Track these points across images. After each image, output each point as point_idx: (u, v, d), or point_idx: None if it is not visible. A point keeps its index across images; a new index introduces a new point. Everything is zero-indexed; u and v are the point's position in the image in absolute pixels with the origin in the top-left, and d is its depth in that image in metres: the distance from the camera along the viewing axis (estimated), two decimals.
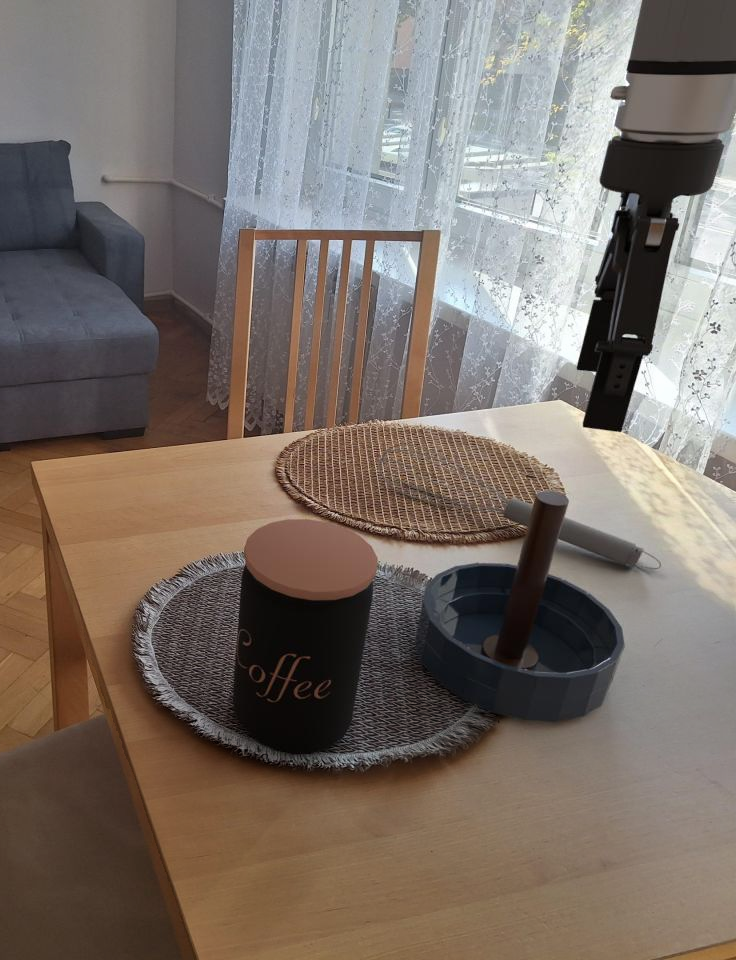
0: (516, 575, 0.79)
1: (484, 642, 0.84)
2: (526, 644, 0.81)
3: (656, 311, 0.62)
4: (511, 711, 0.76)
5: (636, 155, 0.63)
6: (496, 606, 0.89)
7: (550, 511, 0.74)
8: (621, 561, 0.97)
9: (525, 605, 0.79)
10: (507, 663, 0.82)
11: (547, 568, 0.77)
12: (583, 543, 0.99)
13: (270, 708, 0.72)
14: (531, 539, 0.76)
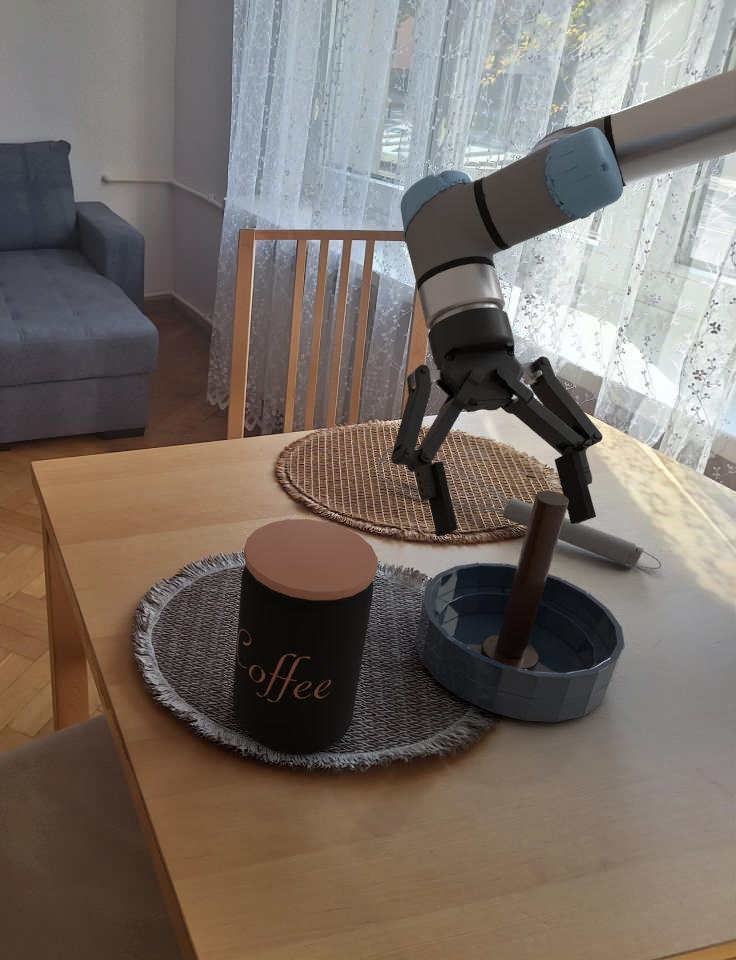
0: (516, 575, 0.79)
1: (484, 642, 0.84)
2: (526, 644, 0.81)
3: (407, 425, 0.81)
4: (511, 711, 0.76)
5: (429, 341, 0.87)
6: (496, 606, 0.89)
7: (550, 511, 0.74)
8: (621, 561, 0.97)
9: (525, 605, 0.79)
10: (507, 663, 0.82)
11: (547, 568, 0.77)
12: (583, 543, 0.99)
13: (270, 708, 0.72)
14: (531, 539, 0.76)
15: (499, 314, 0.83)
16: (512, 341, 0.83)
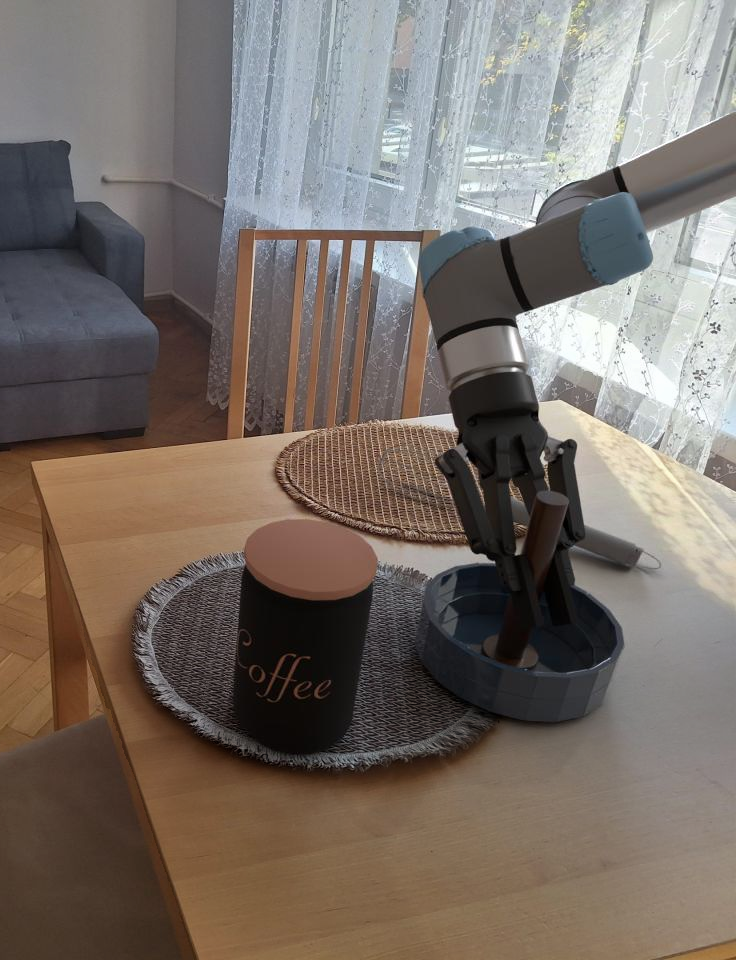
0: None
1: (484, 642, 0.84)
2: (526, 644, 0.81)
3: (474, 517, 0.78)
4: (511, 711, 0.76)
5: None
6: (496, 606, 0.89)
7: (550, 511, 0.74)
8: (621, 561, 0.97)
9: None
10: (507, 663, 0.82)
11: (547, 568, 0.77)
12: (583, 543, 0.99)
13: (270, 708, 0.72)
14: (531, 539, 0.76)
15: (523, 378, 0.80)
16: (537, 406, 0.80)
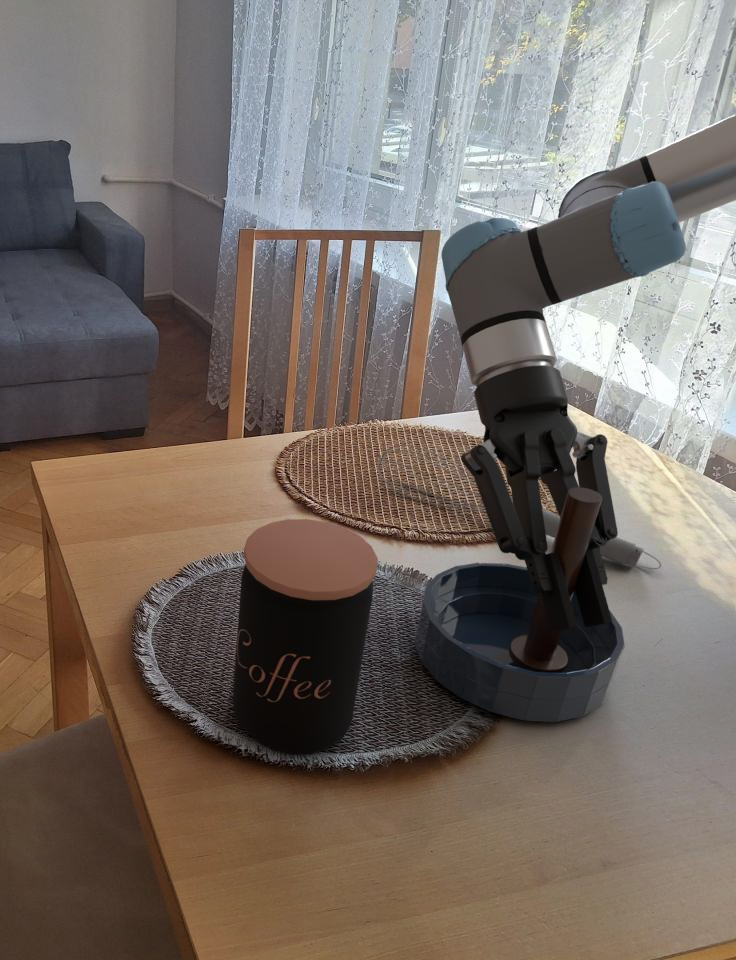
0: None
1: (512, 643, 0.82)
2: (556, 645, 0.79)
3: (503, 515, 0.76)
4: (511, 711, 0.76)
5: (475, 399, 0.82)
6: (496, 606, 0.89)
7: (583, 509, 0.72)
8: (621, 561, 0.97)
9: None
10: (536, 665, 0.80)
11: (579, 567, 0.75)
12: None
13: (270, 708, 0.72)
14: (562, 537, 0.74)
15: (552, 372, 0.78)
16: (566, 401, 0.78)
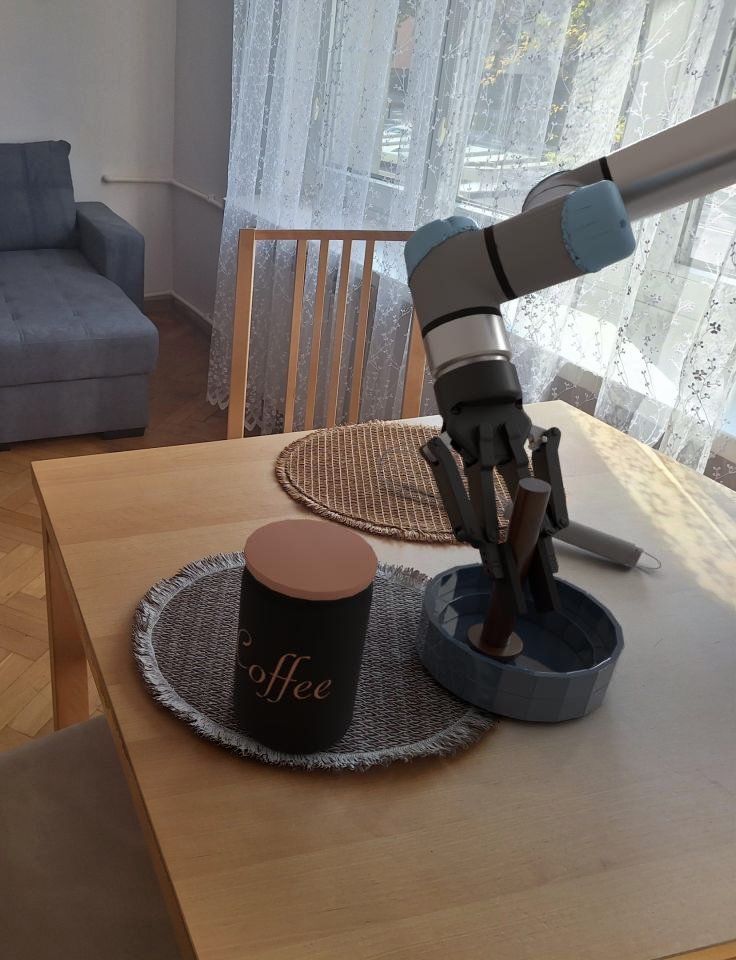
0: None
1: (469, 630, 0.84)
2: (510, 632, 0.82)
3: (457, 505, 0.78)
4: (511, 711, 0.76)
5: (434, 392, 0.85)
6: None
7: (532, 498, 0.74)
8: (621, 561, 0.97)
9: None
10: (491, 651, 0.82)
11: (530, 555, 0.77)
12: (583, 543, 0.99)
13: (270, 708, 0.72)
14: (514, 526, 0.76)
15: (507, 366, 0.80)
16: (521, 394, 0.80)
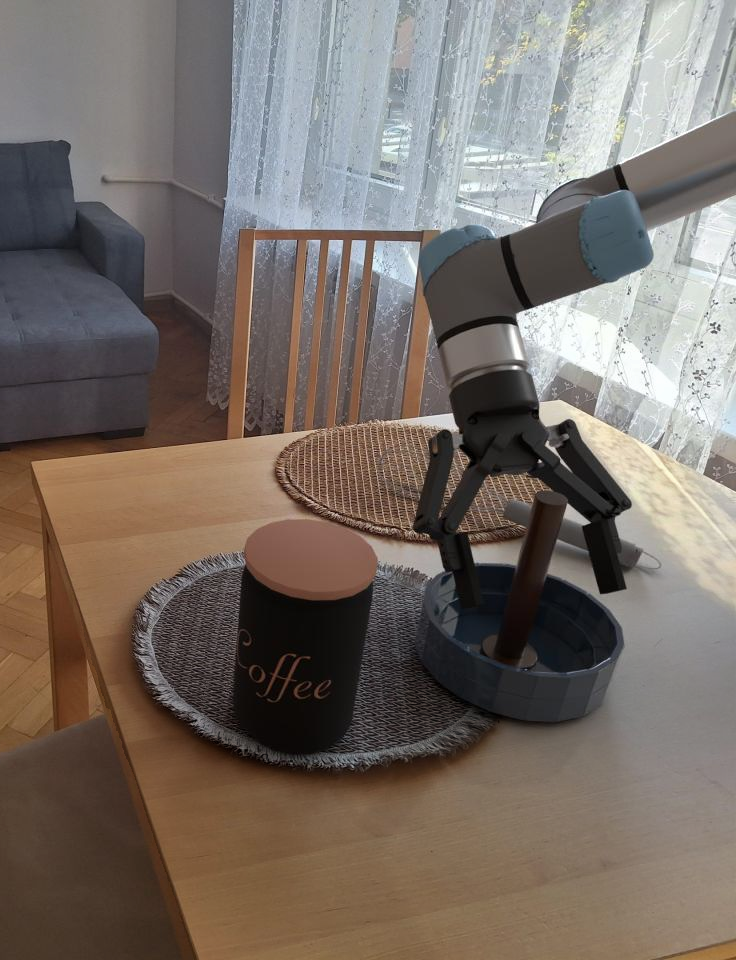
0: (515, 575, 0.79)
1: (483, 642, 0.84)
2: (525, 644, 0.81)
3: (430, 494, 0.78)
4: (511, 711, 0.76)
5: (450, 402, 0.84)
6: (496, 606, 0.89)
7: (549, 511, 0.74)
8: (621, 561, 0.97)
9: (524, 605, 0.79)
10: (506, 663, 0.82)
11: (546, 568, 0.77)
12: (583, 544, 0.99)
13: (270, 708, 0.72)
14: (530, 538, 0.76)
15: (524, 376, 0.80)
16: (537, 404, 0.80)
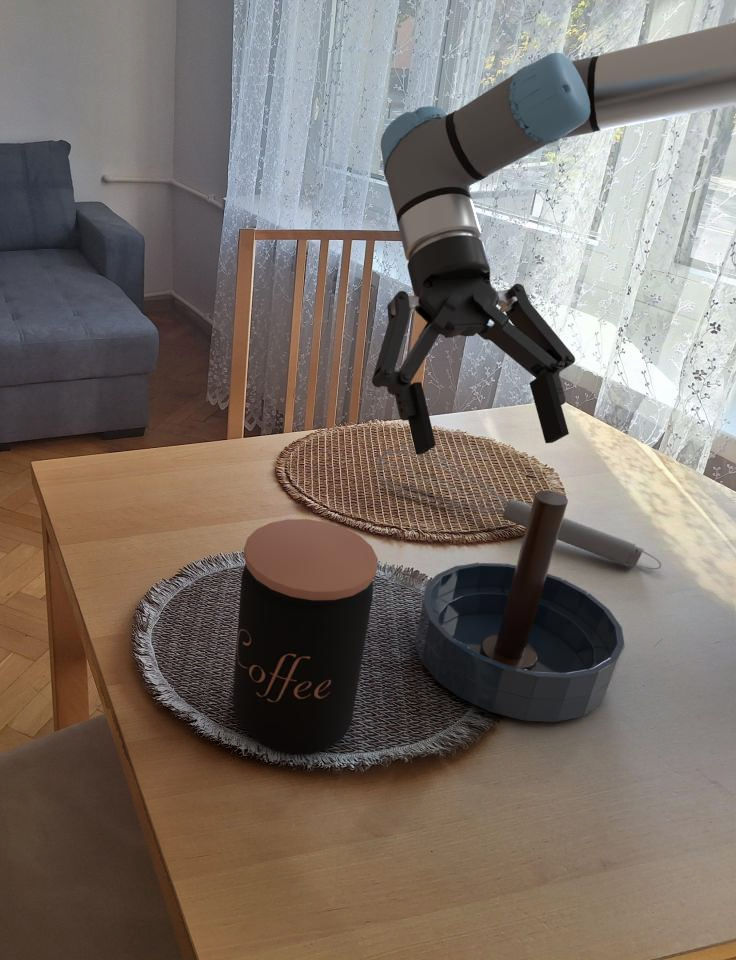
0: (515, 575, 0.79)
1: (483, 642, 0.84)
2: (525, 644, 0.81)
3: (387, 348, 0.84)
4: (511, 711, 0.76)
5: None
6: (496, 606, 0.89)
7: (549, 511, 0.74)
8: (621, 561, 0.97)
9: (524, 605, 0.79)
10: (506, 663, 0.82)
11: (546, 568, 0.77)
12: (583, 544, 0.99)
13: (270, 708, 0.72)
14: (530, 538, 0.76)
15: (475, 241, 0.86)
16: (488, 268, 0.86)
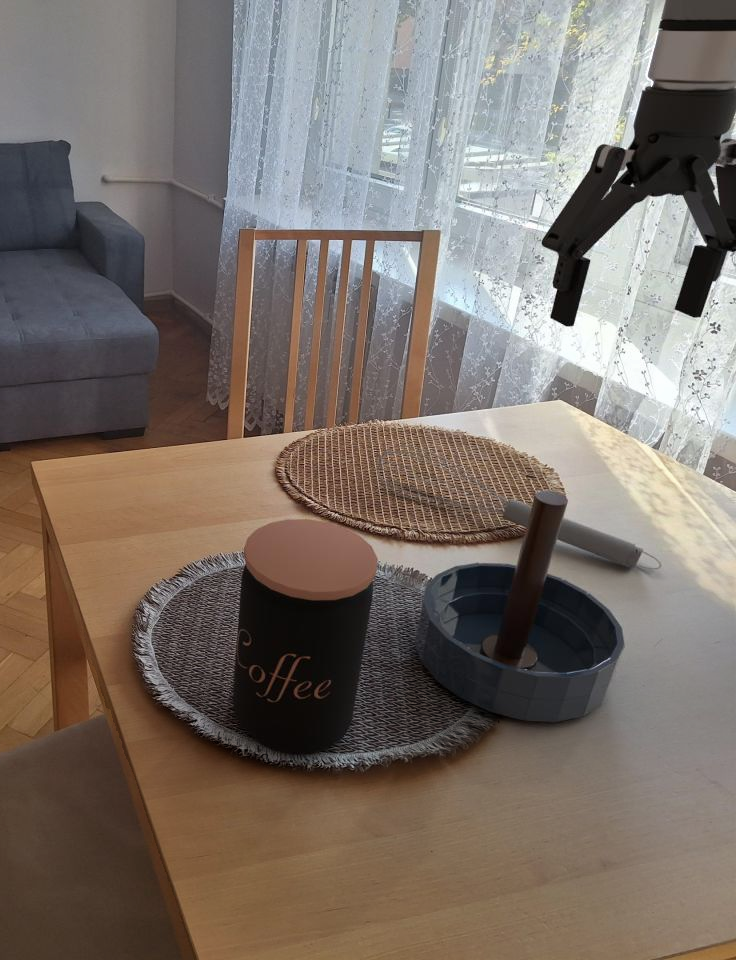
0: (515, 575, 0.79)
1: (483, 642, 0.84)
2: (525, 644, 0.81)
3: (574, 218, 0.79)
4: (511, 711, 0.76)
5: (640, 97, 0.77)
6: (496, 606, 0.89)
7: (549, 511, 0.74)
8: (621, 562, 0.97)
9: (524, 605, 0.79)
10: (506, 663, 0.82)
11: (546, 568, 0.77)
12: (583, 544, 0.99)
13: (270, 708, 0.72)
14: (530, 538, 0.76)
15: (733, 101, 0.73)
16: (727, 131, 0.75)
